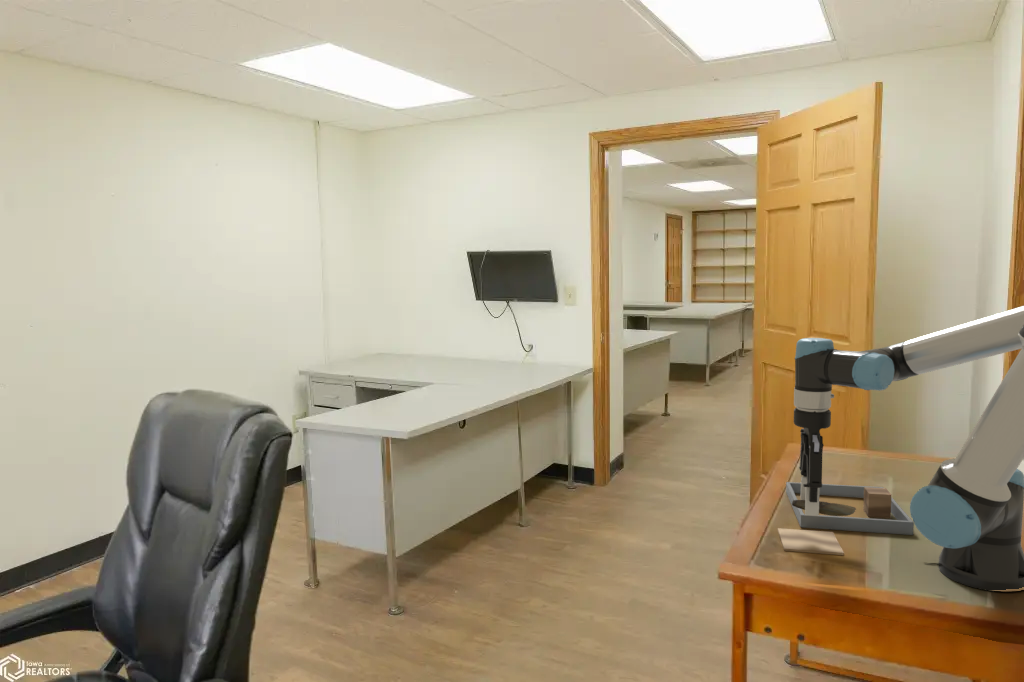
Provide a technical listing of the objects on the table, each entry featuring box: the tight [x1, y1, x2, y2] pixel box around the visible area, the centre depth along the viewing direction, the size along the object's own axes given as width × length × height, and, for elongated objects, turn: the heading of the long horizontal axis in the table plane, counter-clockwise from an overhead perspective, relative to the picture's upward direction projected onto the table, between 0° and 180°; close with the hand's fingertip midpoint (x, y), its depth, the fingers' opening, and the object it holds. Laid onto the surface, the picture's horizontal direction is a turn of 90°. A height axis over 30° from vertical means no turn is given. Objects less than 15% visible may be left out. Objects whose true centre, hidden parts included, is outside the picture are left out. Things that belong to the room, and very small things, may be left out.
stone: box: [791, 499, 857, 517], centre depth 151 cm, size 13×5×2 cm, turn 57°
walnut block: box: [862, 487, 892, 519], centre depth 170 cm, size 5×5×6 cm
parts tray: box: [785, 481, 915, 536], centre depth 172 cm, size 26×24×3 cm
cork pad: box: [777, 527, 845, 556], centre depth 154 cm, size 12×12×1 cm
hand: (809, 509), depth 153 cm, fingers closed on stone, 6 cm apart
